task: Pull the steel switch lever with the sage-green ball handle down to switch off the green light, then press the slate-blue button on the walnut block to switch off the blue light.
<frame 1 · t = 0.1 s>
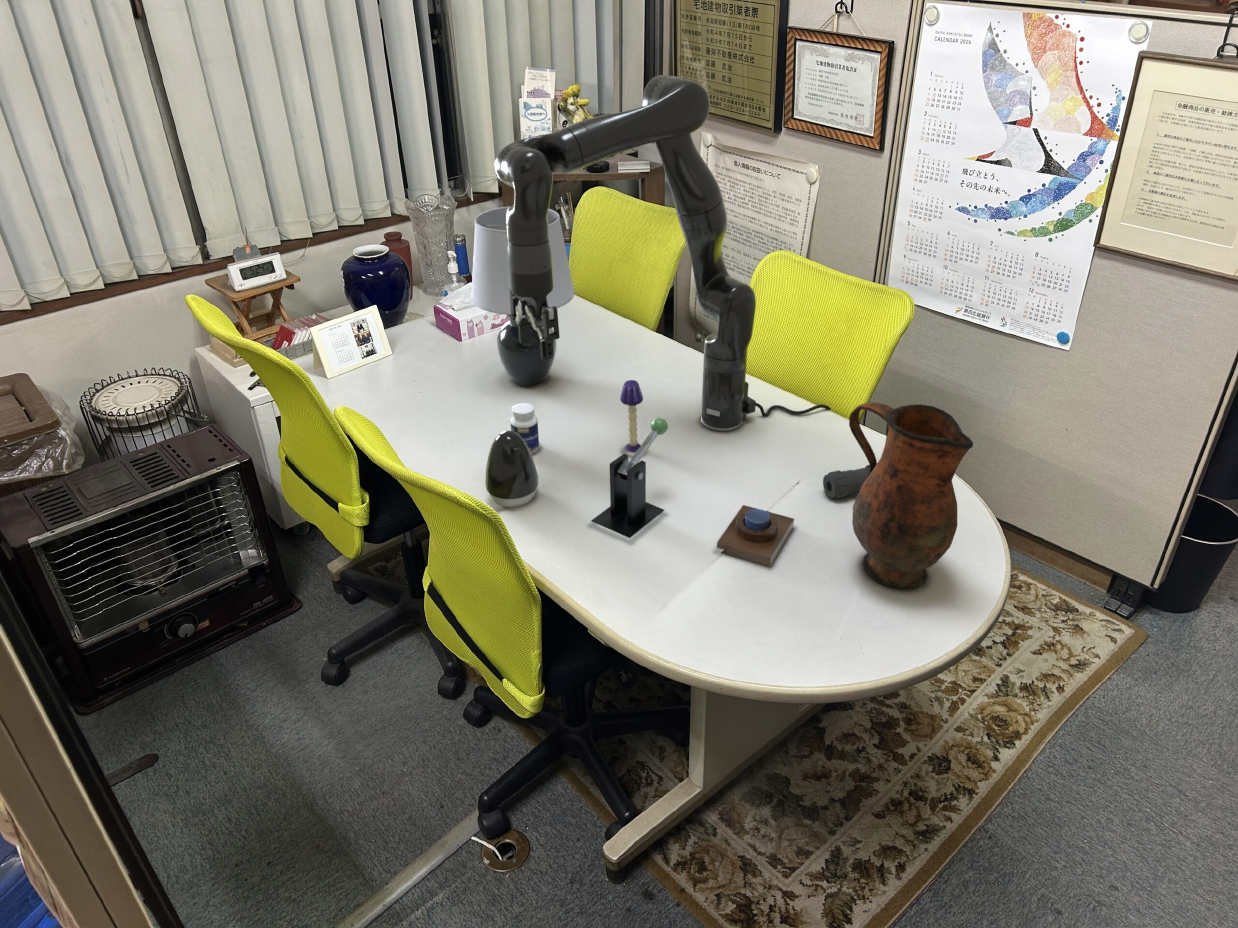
hand: (536, 350, 163), 29 cm above the table, tool pointing down, fingers open, 8 cm apart
pitcher: (884, 565, 155), on the table
light button: (757, 519, 159), point 4 cm above the table, slide at 0.1 cm
flashlight: (861, 490, 175), on the table
switch bracket: (628, 520, 168), on the table
button block: (755, 539, 162), on the table
toy lamp: (632, 453, 188), on the table
switch lever: (644, 448, 164), point 13 cm above the table, hinge at 26.0°
pill bottle: (526, 449, 190), on the table
lamp: (529, 380, 218), on the table
black egg-shaped dome: (513, 500, 174), on the table
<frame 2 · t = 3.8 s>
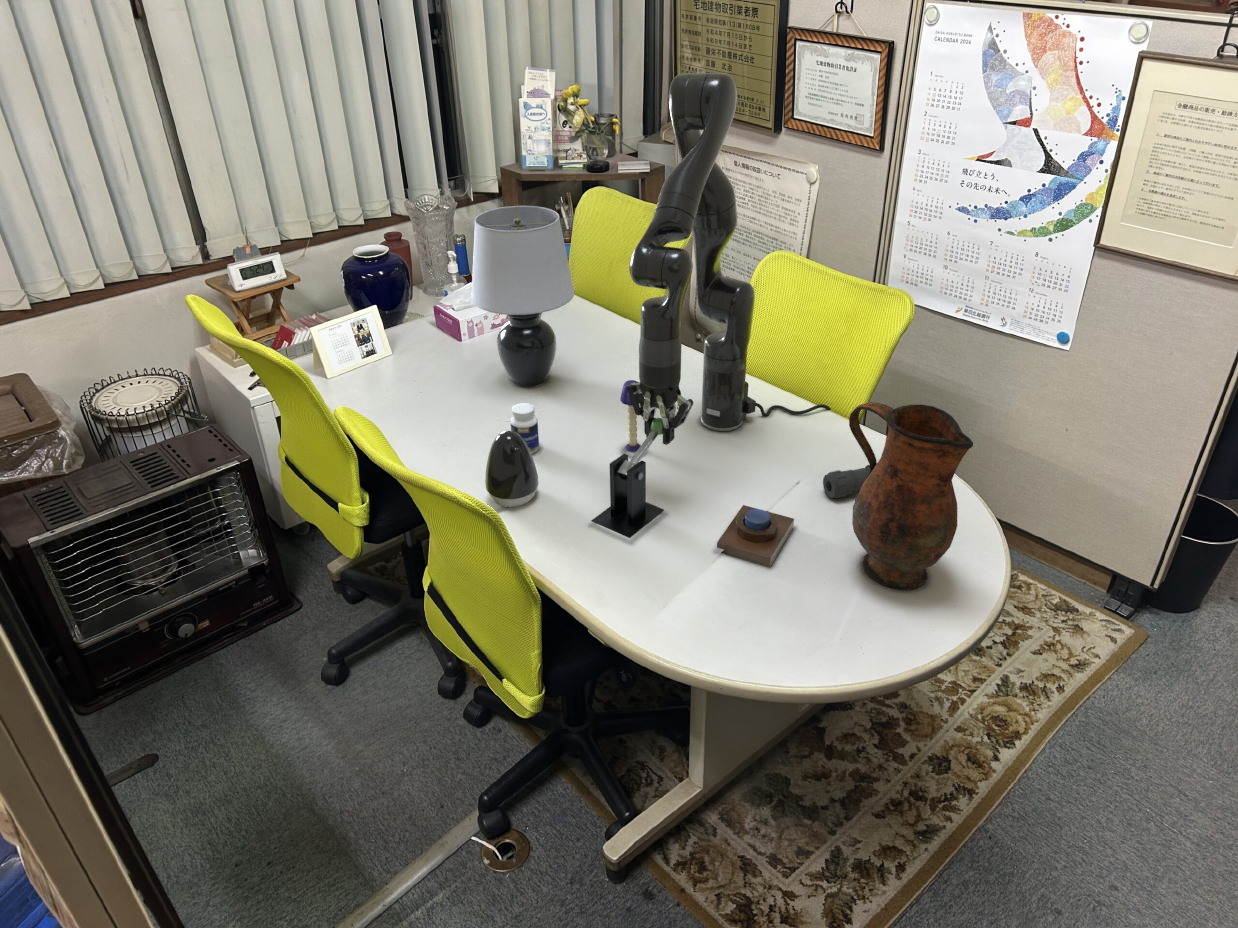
hand: (659, 439, 167), 13 cm above the table, tool pointing down, fingers closed on switch lever, 3 cm apart
switch lever: (644, 448, 164), point 13 cm above the table, hinge at 26.0°, touching gripper
everything else where it was.
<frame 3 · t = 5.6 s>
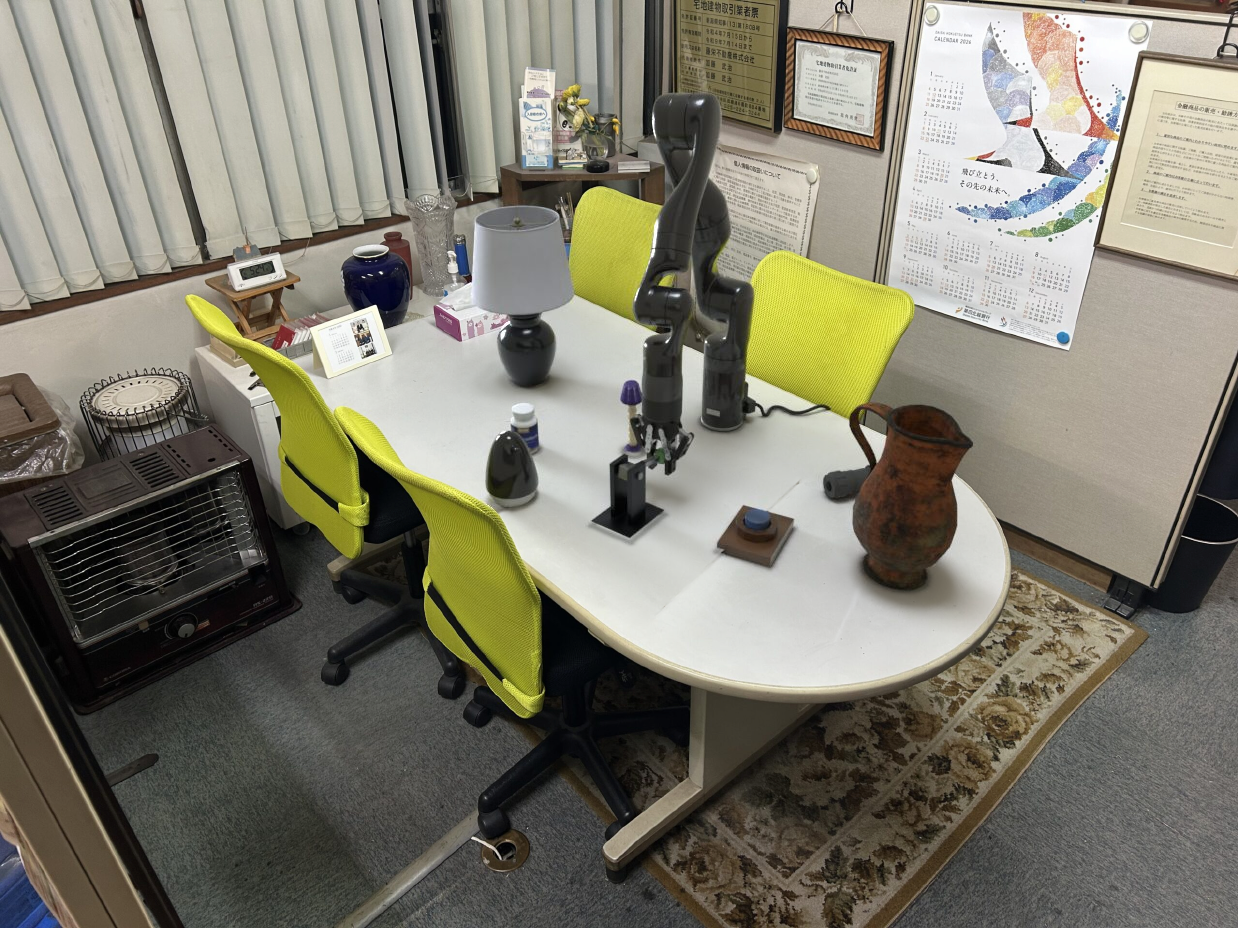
hand: (660, 470, 172), 6 cm above the table, tool pointing down, fingers closed on switch lever, 3 cm apart
switch lever: (645, 463, 166), point 10 cm above the table, hinge at -11.2°, touching gripper
everything else where it was.
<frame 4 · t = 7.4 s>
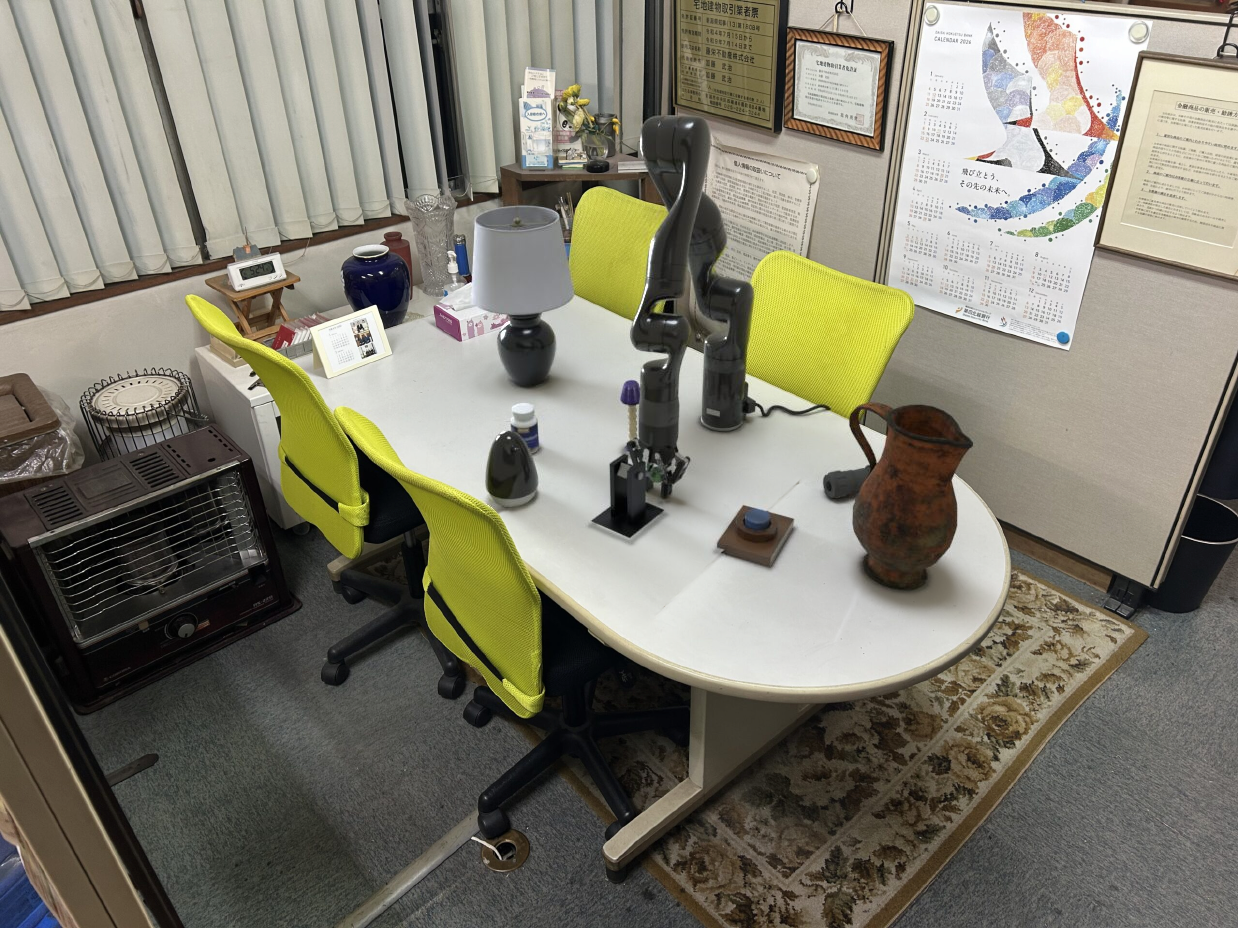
hand: (657, 493, 173), 1 cm above the table, tool pointing down, fingers open, 3 cm apart
switch lever: (643, 472, 166), point 8 cm above the table, hinge at -31.1°
everything else where it was.
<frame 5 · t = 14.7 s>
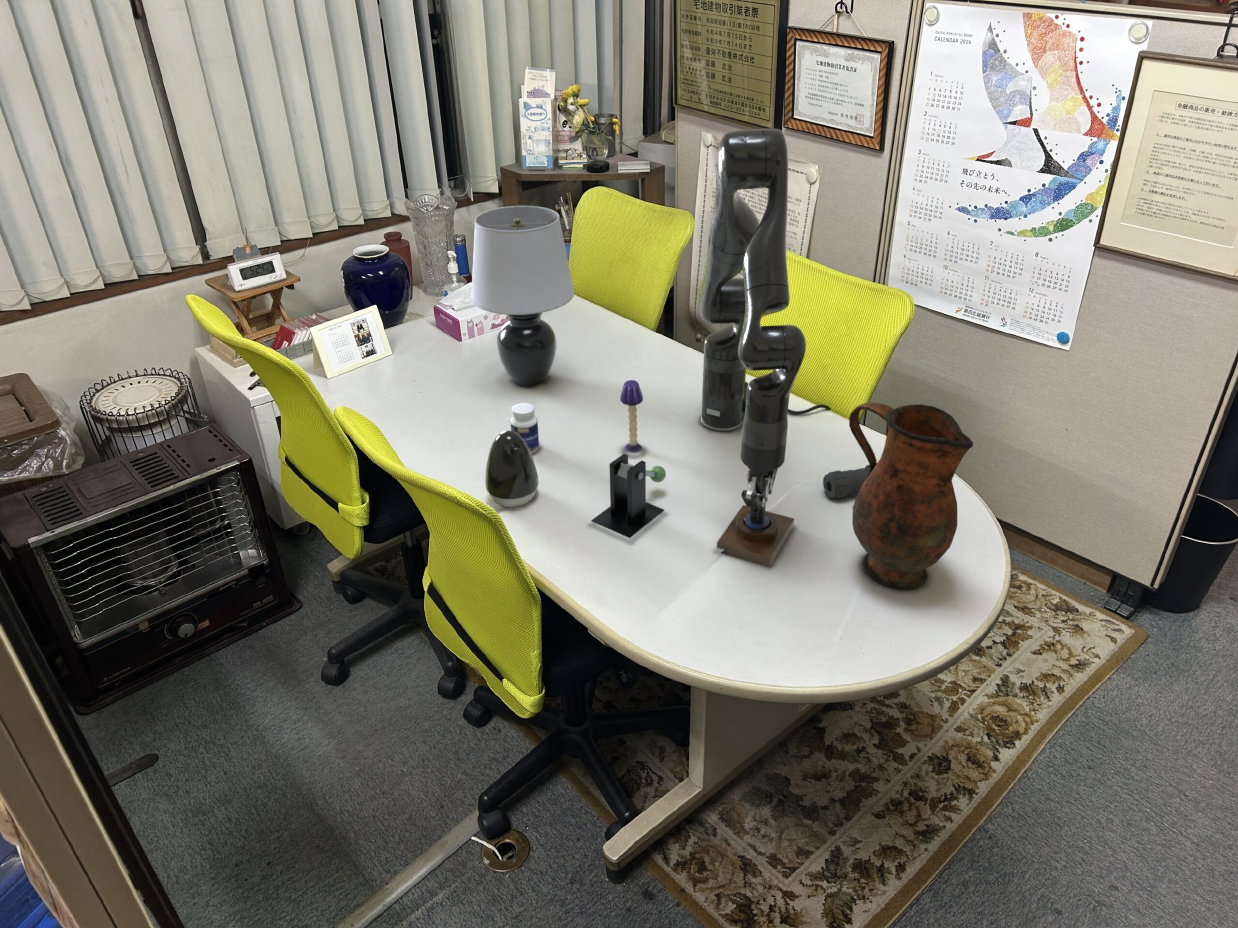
hand: (757, 520, 159), 4 cm above the table, tool pointing down, fingers closed
light button: (756, 523, 160), point 4 cm above the table, slide at -0.8 cm, touching gripper
switch lever: (643, 472, 166), point 8 cm above the table, hinge at -30.5°
everything else where it was.
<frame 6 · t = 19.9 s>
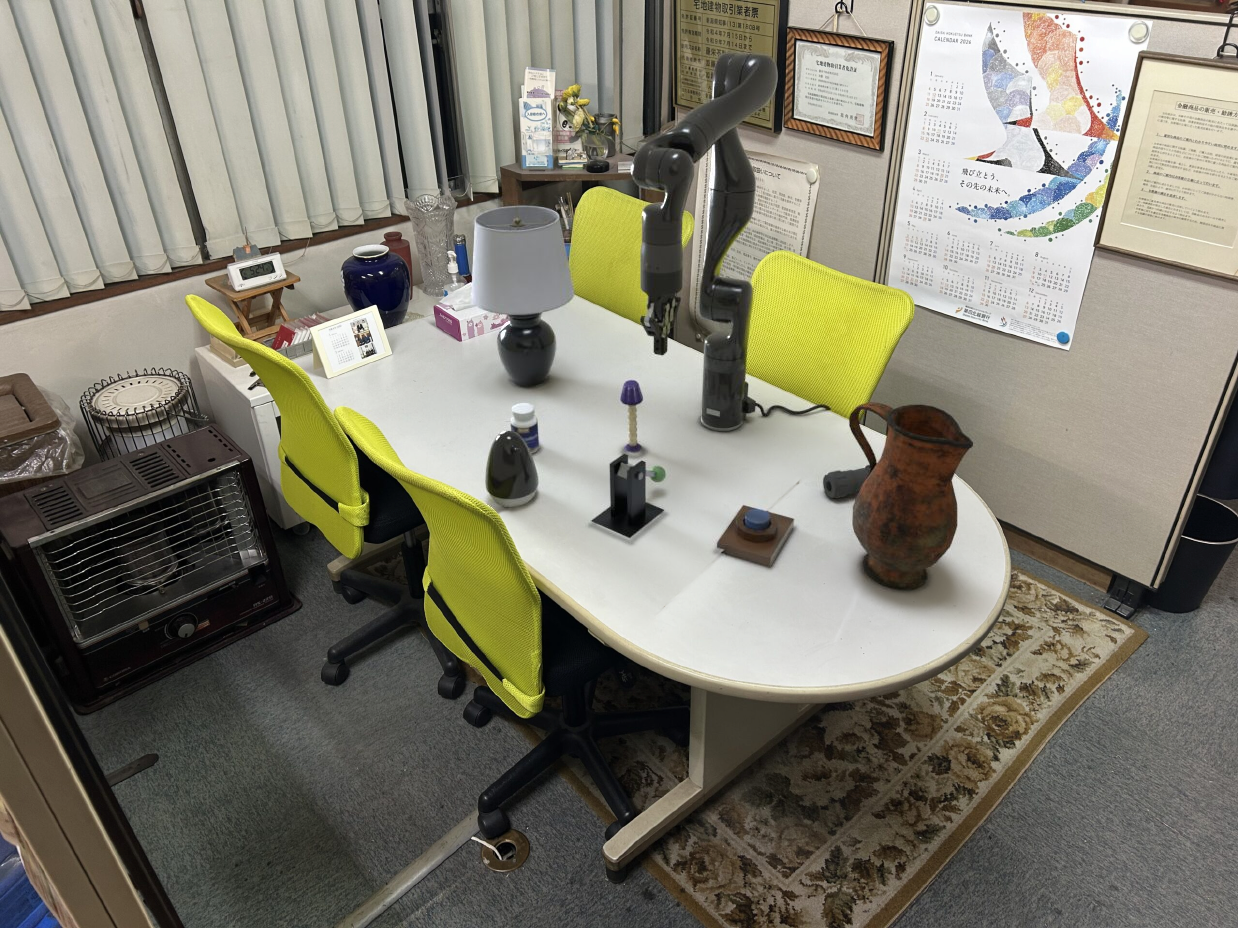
hand: (660, 353, 167), 27 cm above the table, tool pointing down, fingers closed
light button: (757, 519, 159), point 4 cm above the table, slide at 0.1 cm
everything else where it was.
at the end: switch lever at -30° (first picture: +26°); light button pushed in 1.1 cm at the most during the clip, back to where it started at the end; light button slide at 0.1 cm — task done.
